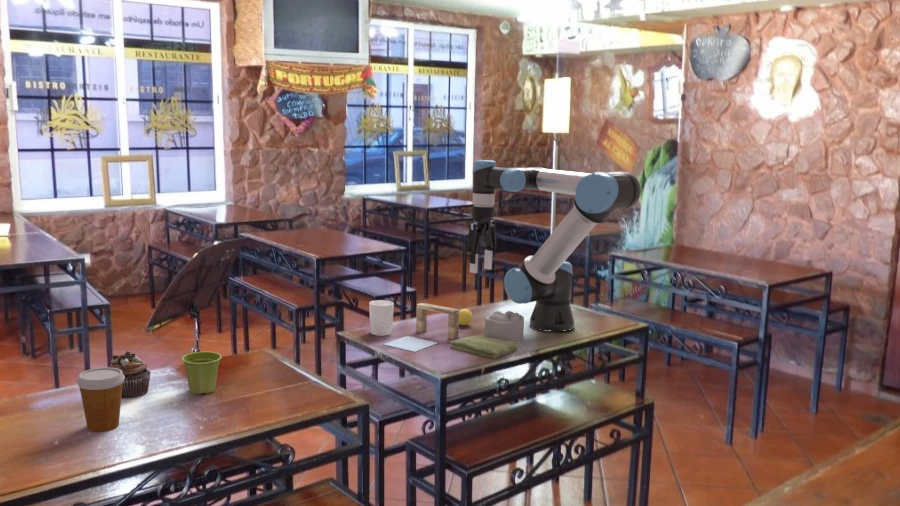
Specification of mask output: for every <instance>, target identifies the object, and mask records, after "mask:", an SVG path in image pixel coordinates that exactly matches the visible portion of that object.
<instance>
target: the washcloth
mask: <svg viewBox="0 0 900 506" xmlns="http://www.w3.org/2000/svg"><path fill="white" fill-rule="evenodd" d="M449 344H450V345H451V346H452V350H455V349H456V351H461V352H465V353H468V354H474V355H477V356H481V357H487V358H491V359H497V358H500V357H503V356H505V355H508V354H511V353H514V351H515V352H517V350H518V345H517V343H514V342H512V341H503V340H500V339H495V338H488V337H484V335H471V336H465V337H460V338H459V339H457V340H456V339H454V340H451V341H450V343H449Z"/></svg>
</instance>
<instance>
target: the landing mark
mask: <svg viewBox="0 0 900 506" xmlns="http://www.w3.org/2000/svg"><path fill="white" fill-rule="evenodd" d="M438 344H439V343H438V342H436V341H430V340H425V339H423V338H418V337H413V336H410V335H409V336H408V335H406V336H403V337H400V338H397V339H394V340H391V341H388V342H386V343H383V344H382V345H383V346H386V347H390V348H396V349H400V350H404V351H407V352H411V353H416V352H419V351H422V350H424V349H426V348H429V347H432V346H435V345H438Z"/></svg>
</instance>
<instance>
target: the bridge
mask: <svg viewBox="0 0 900 506" xmlns="http://www.w3.org/2000/svg"><path fill="white" fill-rule="evenodd" d="M428 311H431V312H435V313H436V312H437V313H442V314H446V315H448V318H447V319H448V321H447V322H448V323H447V324H448V325H447V339H448V340H451V341H454V340H456V339H458V338H459V328H460V327H459V325H460V324H459V311H460V309H457V308H453V307H447V306H443V305H442V306H440V305H436V304H431V303H425V302H421V303H417V304H416V322H415V323H416V325H415V332H416V333H420V334H422V333H425V332H427V328H428V327H427V326H428V325H427V324H428V323H427V322H428V320H427V319H428Z"/></svg>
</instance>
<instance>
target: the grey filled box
mask: <svg viewBox="0 0 900 506" xmlns="http://www.w3.org/2000/svg"><path fill="white" fill-rule="evenodd" d="M524 327H525V317H524V316H523V315H522V314H520V313H518V312H513V311H511V310H509V311H508V310H507V311H505V312H501V311H499V310H495V311H494V312H493V313H492V314H491V315H489V316H485V318H484V335H483V336H484V337H488V338H495V339H500V340H503V341H512V342H514V343H516V344H519V343H518V342H520V343H522V342H523V341H522V340H524V330H525V329H524ZM521 341H522V342H521Z"/></svg>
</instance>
